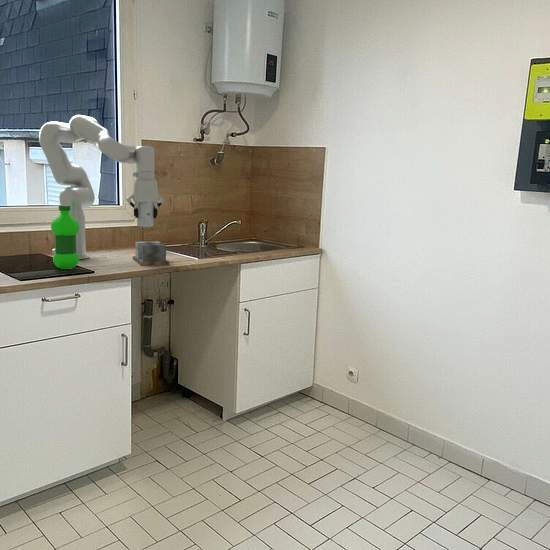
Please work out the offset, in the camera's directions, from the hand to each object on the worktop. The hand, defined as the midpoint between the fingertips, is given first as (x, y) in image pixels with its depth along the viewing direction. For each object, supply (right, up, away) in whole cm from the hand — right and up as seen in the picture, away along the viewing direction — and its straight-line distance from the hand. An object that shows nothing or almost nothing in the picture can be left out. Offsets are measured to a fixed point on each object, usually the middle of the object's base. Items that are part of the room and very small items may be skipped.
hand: (145, 217), depth 239 cm
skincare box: (0, -4, +1) cm, 4 cm away
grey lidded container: (0, -19, +7) cm, 20 cm away
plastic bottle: (-28, -23, -18) cm, 40 cm away
